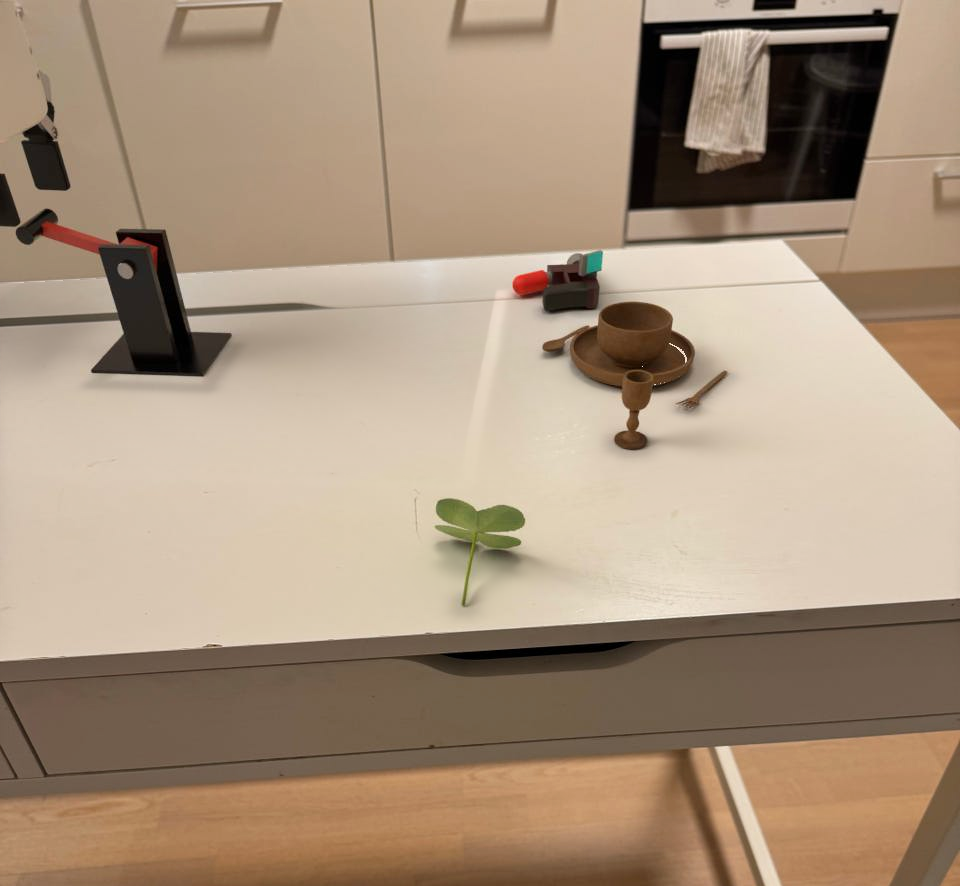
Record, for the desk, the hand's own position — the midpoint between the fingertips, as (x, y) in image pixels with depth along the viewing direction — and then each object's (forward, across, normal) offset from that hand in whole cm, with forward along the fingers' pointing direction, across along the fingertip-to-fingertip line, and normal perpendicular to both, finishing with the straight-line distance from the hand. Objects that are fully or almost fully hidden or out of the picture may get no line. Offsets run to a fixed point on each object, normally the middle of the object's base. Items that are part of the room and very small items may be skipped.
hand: (29, 206), depth 77 cm
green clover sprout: (+14, +30, +42) cm, 54 cm away
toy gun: (+14, -20, +47) cm, 53 cm away
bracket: (+14, 0, +9) cm, 17 cm away
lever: (+4, 0, +5) cm, 6 cm away
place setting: (+13, +1, +53) cm, 55 cm away
